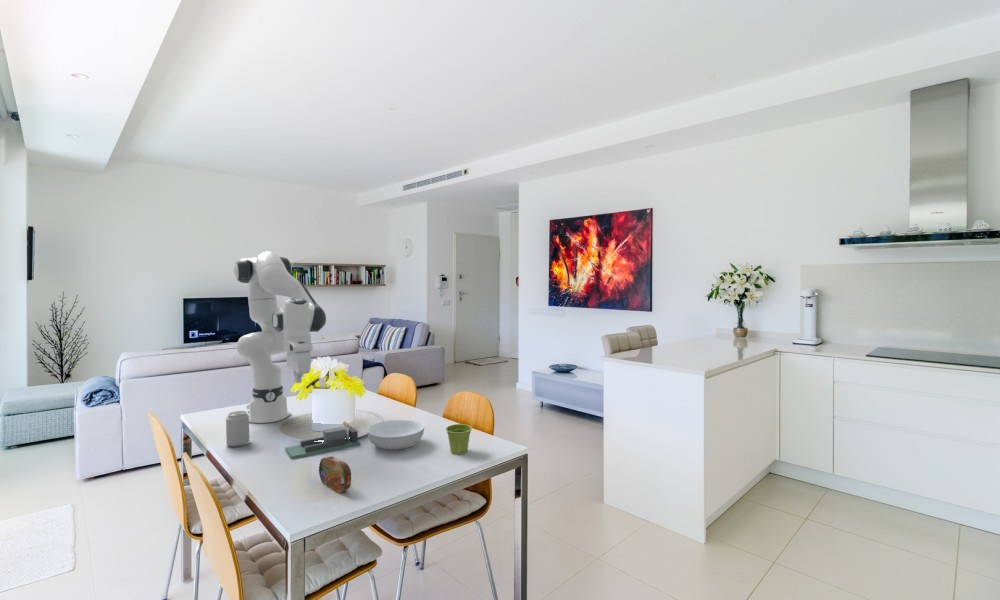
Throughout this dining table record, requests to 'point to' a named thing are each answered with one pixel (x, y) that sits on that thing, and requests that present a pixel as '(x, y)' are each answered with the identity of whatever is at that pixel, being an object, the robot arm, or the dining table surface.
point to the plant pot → (458, 438)
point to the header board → (324, 444)
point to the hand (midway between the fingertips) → (298, 382)
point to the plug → (334, 434)
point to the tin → (335, 474)
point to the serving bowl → (395, 434)
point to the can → (237, 428)
